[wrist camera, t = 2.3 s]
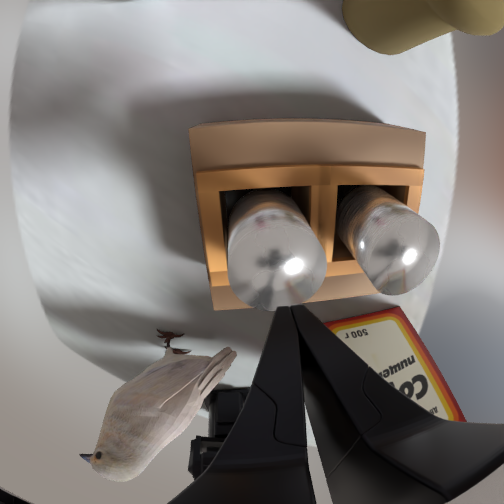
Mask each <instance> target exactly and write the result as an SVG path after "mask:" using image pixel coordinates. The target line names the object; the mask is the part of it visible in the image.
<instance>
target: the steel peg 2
mask: <svg viewBox="0 0 504 504" xmlns="http://www.w3.org/2000/svg"><path fill="white" fill-rule="evenodd" d="M335 228H336V231H337V234H338V236H339V237H340V239H341V240H342V241H343V243H344V244H345V246H346V247H347V248H348V250H349V251H350V253H351V254H352V255H353V257H354V258H355V260H356V261H357V262H358V264H359V265H360V267H361V268H362V270H363V271H364V273H365V274H366V276H367V277H368V279H369V280H370V281H371V283H372V284H373V286H374V287H375V288H376V290H378V291H379V292H381V293H383V294H385V295H400V294H403V293H406V292H408V291H410V290H412V289H414V288H415V287H417V286H418V285H419V284H420V283H422V282H423V281H424V280H425V279H426V277H427V276H428V275H429V274H430V272H431V271H432V269H433V267H434V265H435V263H436V261H437V258H438V254H439V249H440V241H439V236H438V233H437V231H436V229H435V228H434V226H433V225H432V224H430V223H429V222H428V221H426V220H425V219H424V218H422V217H421V216H420V215H418V214H417V213H416V212H414V211H413V210H412V209H410V208H409V207H407V206H406V205H405V204H403V203H402V202H400V201H399V200H397V199H396V198H394V197H393V196H392V195H390V194H389V193H387V192H386V191H384V190H382V189H381V188H379V187H376V186H370V185H367V186H361V187H358V188H356V189H354V190H352V191H351V192H349V193H348V194H347V195H346V196H345V197H344V198H343V199H342V201H341V202H340V204H339V206H338V208H337V211H336V220H335Z"/></svg>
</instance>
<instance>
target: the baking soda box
mask: <svg viewBox="0 0 504 504" xmlns="http://www.w3.org/2000/svg"><path fill="white" fill-rule="evenodd" d="M323 324H325V325H326V326H327V327H328V328H329V329H330V330H331V331H332V332H333V333H334V334H335V335H336V336H338V337H339V338H340V339H341V340H342V341H343V342H344V343H345V344H346V345H347V346H348V347H350V348H351V349H352V350H353V351H354V352H355V353H356V354H357V355H358V356H359V357H360V358H362V359H363V360H364V361H365V362H366V363H367V364H368V367H369V366H370V367H371V368H373V369H374V370H375V371H376V372H377V373H378V374H379V375H380V376H382V377H383V378H384V379H385V380H386V381H387V382H389V383H390V384H391V385H392V386H394V387H395V388H396V389H398V390H399V391H400V392H402V393H403V394H404V395H406V396H407V397H409V398H410V399H412V400H413V401H414V402H416V403H417V404H419V405H420V406H422V407H423V408H424V409H426V410H427V411H429V412H430V413H432V414H434V415H435V416H437V417H440V418H442V419H446V420H451V421H460V422H467V421H466V420H465V417H464V415H463V413H462V411H461V409H460V407H459V405H458V403H457V401H456V399H455V398H454V396H453V394H452V392H451V390H450V388H449V386H448V385H447V383H446V381H445V379H444V377H443V375H442V374H441V372H440V370H439V369H438V367H437V365H436V363H435V362H434V360H433V358H432V356H431V355H430V353H429V351H428V350H427V348H426V346H425V345H424V343H423V342H422V340H421V338H420V337H419V335H418V334H417V332H416V330H415V329H414V327H413V326H412V324H411V323H410V321H409V320H408V318H407V317H406V315H405V314H404V312H403V311H402V309H401V308H400V306H399V307H395V308H391V309H387V310H383V311H378V312H374V313H370V314H365V315H361V316H356V317H351V318H346V319H341V320H336V321H331V322H326V323H323Z"/></svg>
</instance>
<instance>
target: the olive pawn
mask: <svg viewBox="0 0 504 504" xmlns="http://www.w3.org/2000/svg"><path fill="white" fill-rule="evenodd" d="M342 12H343V17H344V21H345V22H346V24H347V26H348V28H349V30H350V31H351V33H352V34H353V35H354V36H355V37H356V38H357V40H358V41H360V42H361V43H362V44H364V45H365V46H366V47H368V48H369V49H371V50H374V51H376V52H378V53H380V54H387V55H394V54H400V53H402V52H404V51H407V50H409V49H411V48H413V47H415V46H418V45H420V44H422V43H424V42H427V41H429V40H432V39H434V38H436V37H439V36H441V35H444V34H446V33H449V32H452V31H454V30H460V31H462V32H464V33H467V34H471V35H481V36H482V35H483V36H484V35H492V34H494V33H497V32H498V31H499V30H500V29H502V27H503V26H504V1H503V0H343V5H342Z"/></svg>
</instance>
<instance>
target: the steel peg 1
mask: <svg viewBox="0 0 504 504" xmlns="http://www.w3.org/2000/svg"><path fill="white" fill-rule="evenodd" d="M326 271H327V259H326V255H325V252H324V250H323V247H322V246H321V244H320V242H319V241H318V239H317V237H316V235H315V234H314V232H313V230H312V229H311V227H310V225H309V224H308V222H307V220H306V219H305V217H304V215H303V214H302V212H301V211H300V209H299V207H298V206H297V204H296V203H295V201H294V200H293V199H292V198H291V197H290V196H288V195H287V194H285V193H284V192H282V191H279V190H276V189H270V188H264V189H257V190H254V191H251V192H249V193H247V194H245V195H244V196H243V197H241V198H240V199H239V200H238V201H237V203H236V204H235V205H234V207H233V209H232V211H231V213H230V217H229V235H228V280H229V284H230V287H231V289H232V290H233V292H234V293H235V295H236V296H237V297H238V298H239V299H240V300H241V301H243V302H244V303H245V304H247V305H249V306H251V307H253V308H256V309H260V310H265V311H275V310H276V308H277V307H278V306H287V305H288V306H289V307H290V306H291V305H296V304H302V303H303V302H305V301H307V300H308V299H309V298H311V297H312V296H313V295H314V294H315V293H316V292H317V290H318V289H319V288H320V286H321V285H322V283H323V281H324V278H325V275H326Z"/></svg>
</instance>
